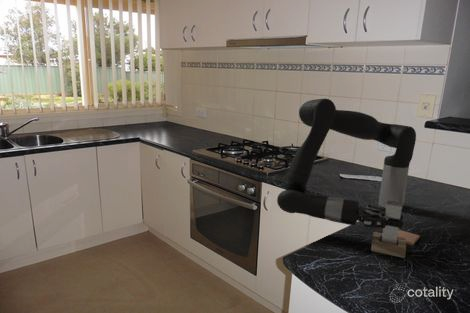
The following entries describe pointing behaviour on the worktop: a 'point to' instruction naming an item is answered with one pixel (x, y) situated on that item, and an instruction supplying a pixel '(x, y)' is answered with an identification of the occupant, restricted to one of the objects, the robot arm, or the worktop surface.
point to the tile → (408, 237)
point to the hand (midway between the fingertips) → (402, 221)
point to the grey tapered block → (391, 232)
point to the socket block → (388, 246)
